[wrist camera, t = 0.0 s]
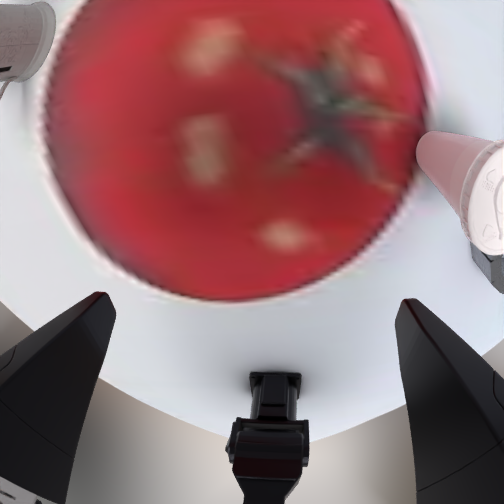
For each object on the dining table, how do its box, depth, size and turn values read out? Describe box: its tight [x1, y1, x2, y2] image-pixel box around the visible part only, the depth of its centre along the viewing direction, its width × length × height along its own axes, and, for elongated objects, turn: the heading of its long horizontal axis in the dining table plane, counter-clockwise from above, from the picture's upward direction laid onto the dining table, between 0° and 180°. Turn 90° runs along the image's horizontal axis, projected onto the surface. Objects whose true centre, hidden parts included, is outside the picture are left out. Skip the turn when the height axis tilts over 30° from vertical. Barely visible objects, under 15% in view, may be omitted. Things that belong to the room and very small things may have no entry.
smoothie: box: [416, 131, 504, 255], centre depth 12 cm, size 6×6×14 cm
